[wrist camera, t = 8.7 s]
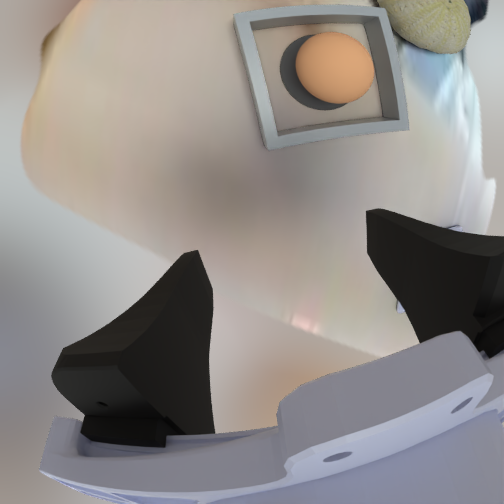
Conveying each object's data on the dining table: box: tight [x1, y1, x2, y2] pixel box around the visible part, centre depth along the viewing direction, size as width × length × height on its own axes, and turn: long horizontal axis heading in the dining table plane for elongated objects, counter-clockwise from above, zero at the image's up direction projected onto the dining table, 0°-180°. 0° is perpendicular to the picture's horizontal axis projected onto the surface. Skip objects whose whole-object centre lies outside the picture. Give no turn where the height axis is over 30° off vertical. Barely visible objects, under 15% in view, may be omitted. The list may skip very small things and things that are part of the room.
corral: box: [233, 5, 409, 151], centre depth 15 cm, size 10×11×2 cm
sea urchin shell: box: [377, 0, 471, 54], centre depth 11 cm, size 9×8×8 cm
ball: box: [296, 32, 374, 104], centre depth 14 cm, size 5×5×5 cm
